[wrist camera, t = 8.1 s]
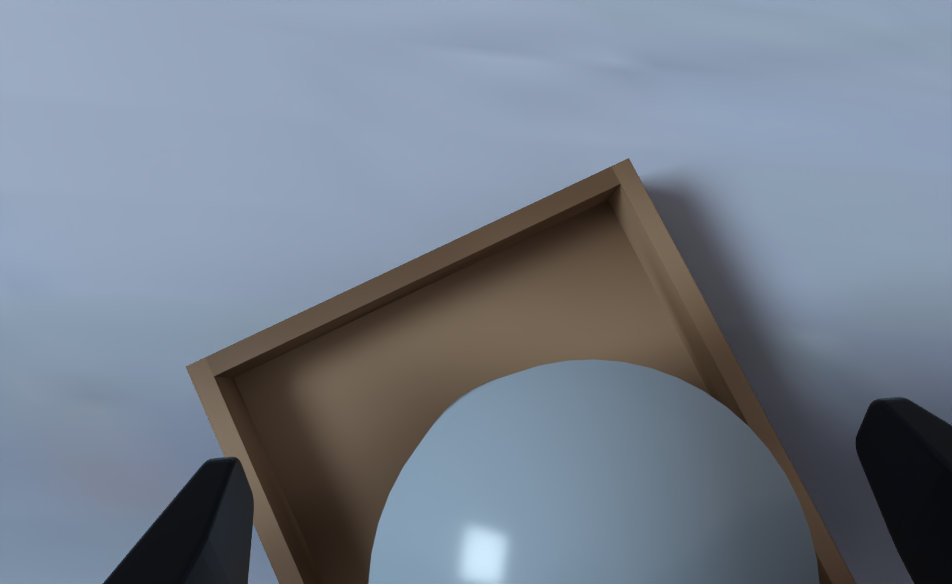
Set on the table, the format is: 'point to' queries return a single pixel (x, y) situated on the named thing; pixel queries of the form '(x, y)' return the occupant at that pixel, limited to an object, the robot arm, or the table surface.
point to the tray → (460, 364)
